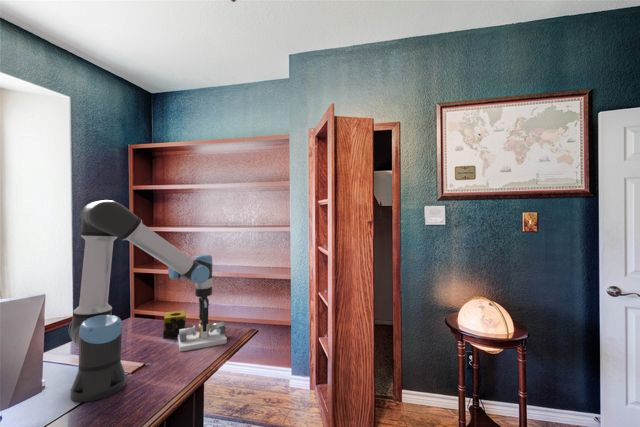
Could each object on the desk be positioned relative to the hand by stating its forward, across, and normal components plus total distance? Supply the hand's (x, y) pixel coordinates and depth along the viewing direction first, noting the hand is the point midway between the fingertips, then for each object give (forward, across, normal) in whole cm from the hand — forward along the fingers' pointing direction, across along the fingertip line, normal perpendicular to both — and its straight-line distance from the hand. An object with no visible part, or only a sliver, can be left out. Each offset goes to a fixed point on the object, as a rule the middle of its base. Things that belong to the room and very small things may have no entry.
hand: (203, 335), depth 143 cm
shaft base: (+2, 0, +1) cm, 2 cm away
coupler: (0, 0, 0) cm, 0 cm away
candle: (+3, +16, +12) cm, 20 cm away
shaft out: (0, +1, -6) cm, 6 cm away
